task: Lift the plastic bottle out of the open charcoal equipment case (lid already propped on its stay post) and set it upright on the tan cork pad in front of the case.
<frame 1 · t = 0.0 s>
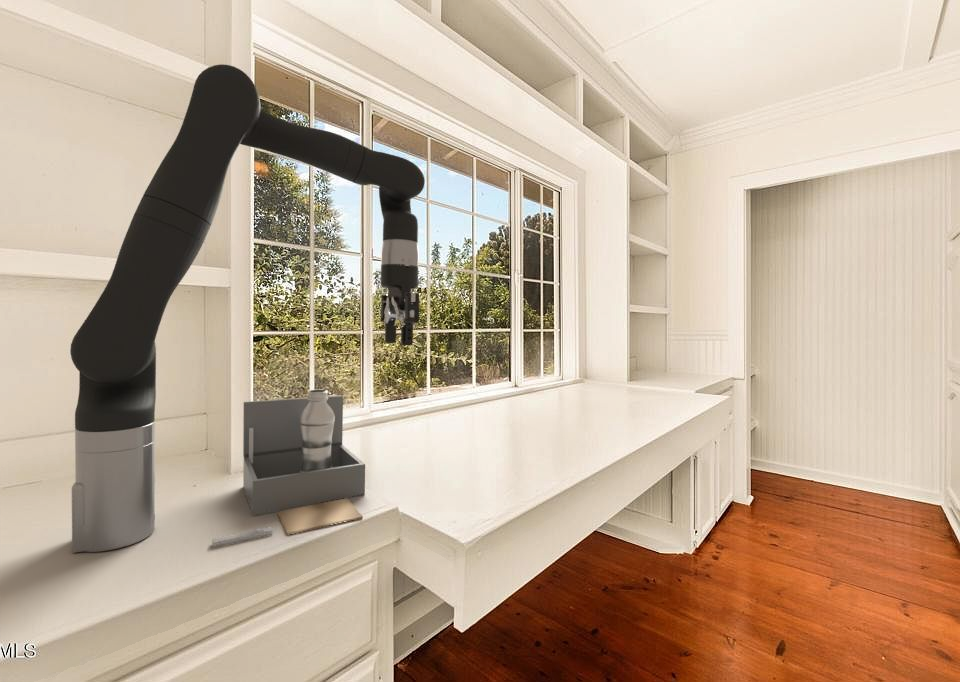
hand: (398, 344, 91), 29 cm above the table, fingers open, 8 cm apart
plastic bottle: (316, 493, 87), resting in case
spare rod: (242, 542, 67), on the table
cork pad: (319, 516, 76), on the table
case: (303, 490, 87), on the table
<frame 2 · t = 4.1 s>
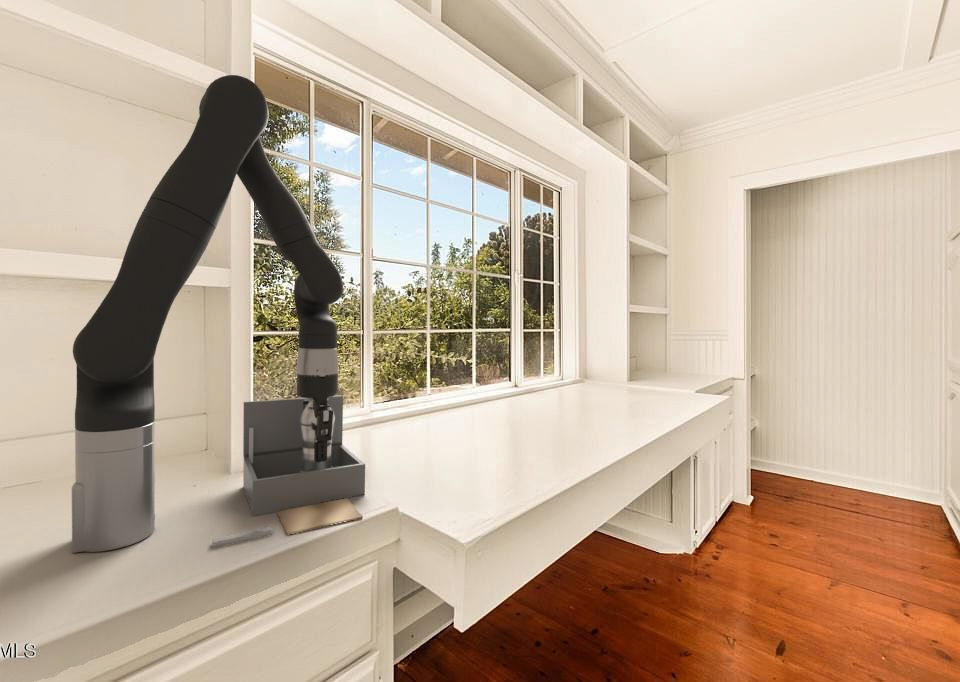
hand: (316, 456, 87), 7 cm above the table, fingers closed on plastic bottle, 5 cm apart
plastic bottle: (316, 492, 87), resting in case, touching gripper
everything else where it was.
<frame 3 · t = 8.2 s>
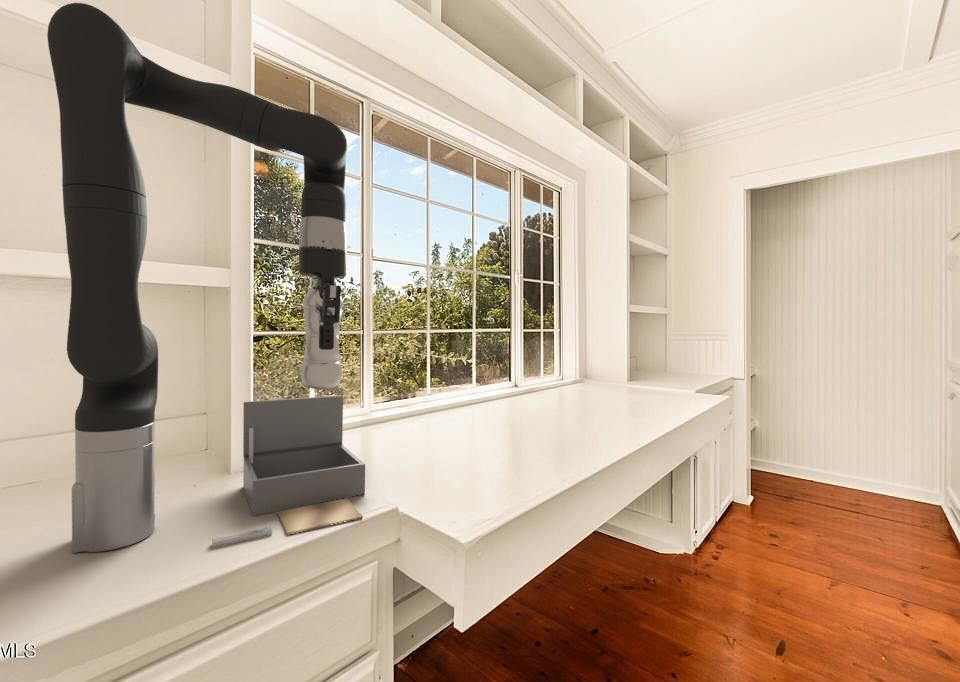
hand: (321, 347, 75), 29 cm above the table, fingers closed on plastic bottle, 5 cm apart
plastic bottle: (321, 390, 75), point 22 cm above the table, touching gripper
everything else where it was.
when the fingers open (8 cm above the table, at t = 12.7 s): plastic bottle stays where it is, resting on cork pad.
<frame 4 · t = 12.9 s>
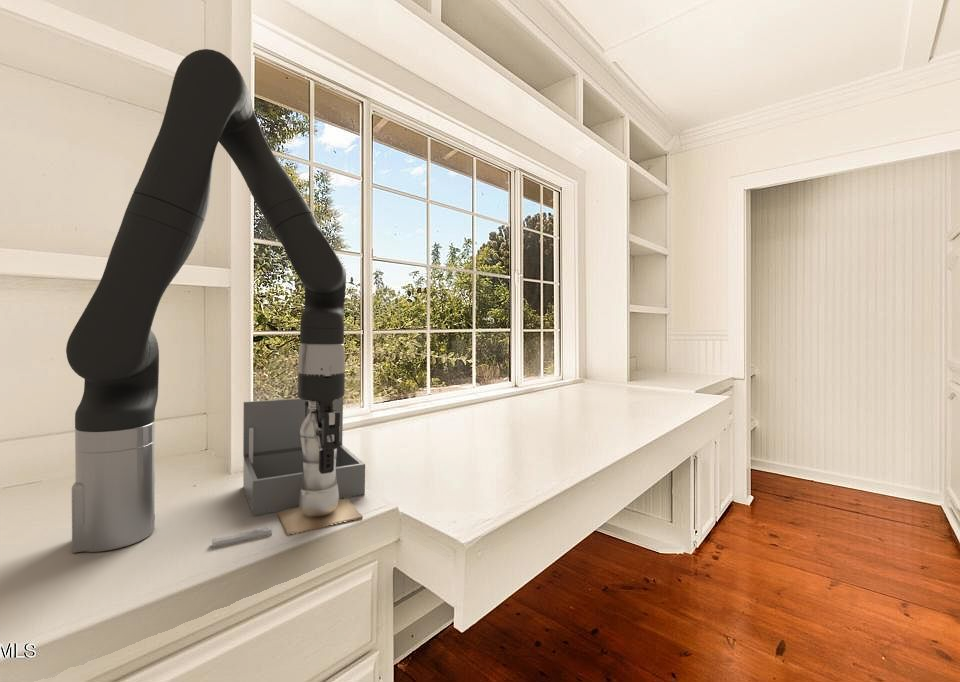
hand: (320, 465, 76), 9 cm above the table, fingers open, 7 cm apart
plastic bottle: (319, 514, 76), resting on cork pad
everything else where it was.
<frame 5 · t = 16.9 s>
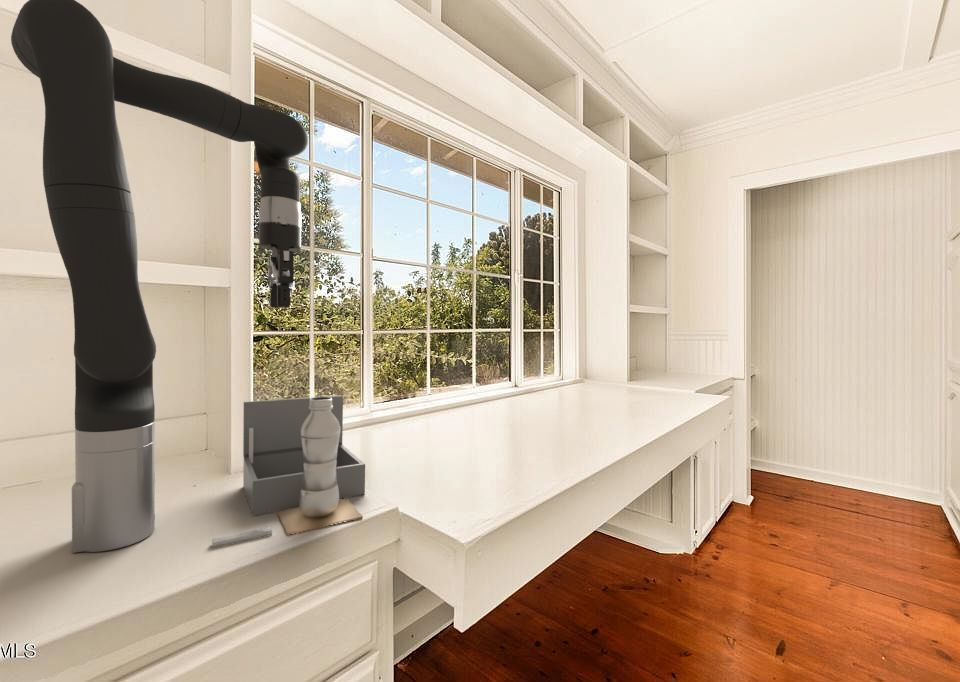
hand: (279, 307, 87), 36 cm above the table, fingers open, 8 cm apart
nothing on the table moved.
at the end: plastic bottle inside the target area on the cork pad (0.1 cm from its centre), point 0.2 cm above the cork pad's base; plastic bottle tilted 0°; the gripper is holding nothing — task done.
